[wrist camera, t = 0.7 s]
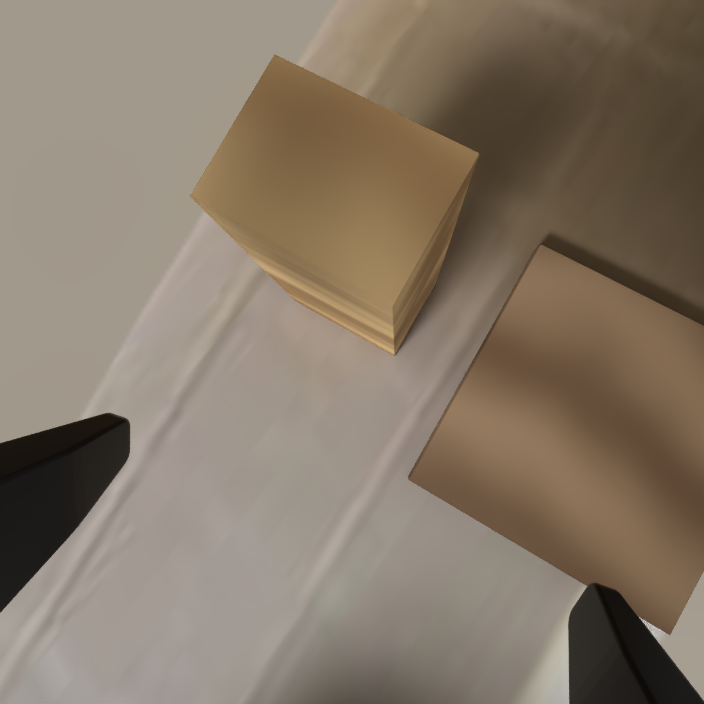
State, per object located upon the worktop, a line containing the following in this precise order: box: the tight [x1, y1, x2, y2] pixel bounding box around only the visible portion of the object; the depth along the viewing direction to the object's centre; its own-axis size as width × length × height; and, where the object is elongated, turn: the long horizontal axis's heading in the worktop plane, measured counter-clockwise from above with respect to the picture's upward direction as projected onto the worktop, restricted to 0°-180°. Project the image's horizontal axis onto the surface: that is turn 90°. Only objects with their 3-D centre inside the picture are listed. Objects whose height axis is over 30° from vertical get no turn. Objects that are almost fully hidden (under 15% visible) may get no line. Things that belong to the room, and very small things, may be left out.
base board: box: [408, 244, 704, 635], centre depth 21 cm, size 12×12×1 cm
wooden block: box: [190, 55, 480, 356], centre depth 17 cm, size 4×6×12 cm
